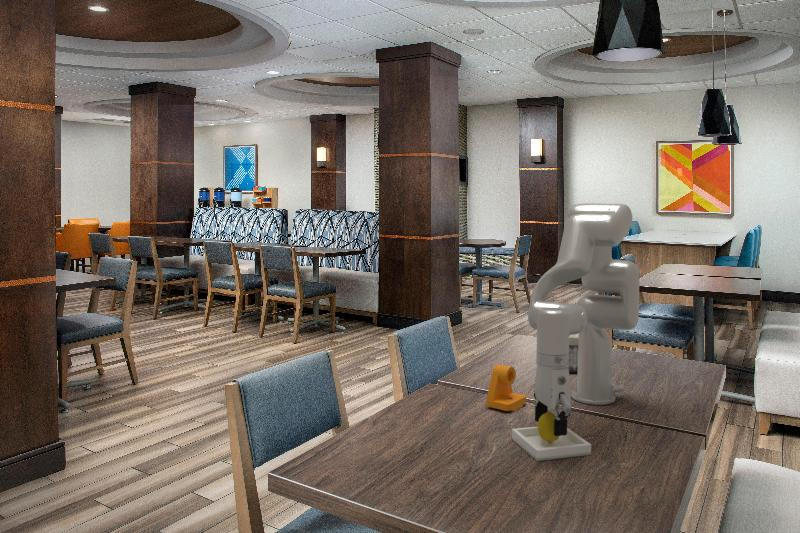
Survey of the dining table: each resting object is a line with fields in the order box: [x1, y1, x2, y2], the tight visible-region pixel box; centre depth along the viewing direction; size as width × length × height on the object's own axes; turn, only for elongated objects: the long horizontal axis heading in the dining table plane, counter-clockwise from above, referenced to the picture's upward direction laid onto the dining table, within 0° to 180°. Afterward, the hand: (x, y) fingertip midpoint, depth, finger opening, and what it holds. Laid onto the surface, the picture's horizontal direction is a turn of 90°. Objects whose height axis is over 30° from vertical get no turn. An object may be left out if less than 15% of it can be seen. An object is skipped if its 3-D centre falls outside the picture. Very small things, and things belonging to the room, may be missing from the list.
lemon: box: [537, 410, 559, 444], centre depth 154 cm, size 6×6×8 cm
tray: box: [511, 425, 592, 462], centre depth 154 cm, size 14×14×2 cm
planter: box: [567, 336, 579, 373], centre depth 222 cm, size 13×13×10 cm
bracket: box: [486, 363, 527, 413], centre depth 183 cm, size 11×7×12 cm, turn 139°
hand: (550, 427), depth 154 cm, fingers open, 9 cm apart
